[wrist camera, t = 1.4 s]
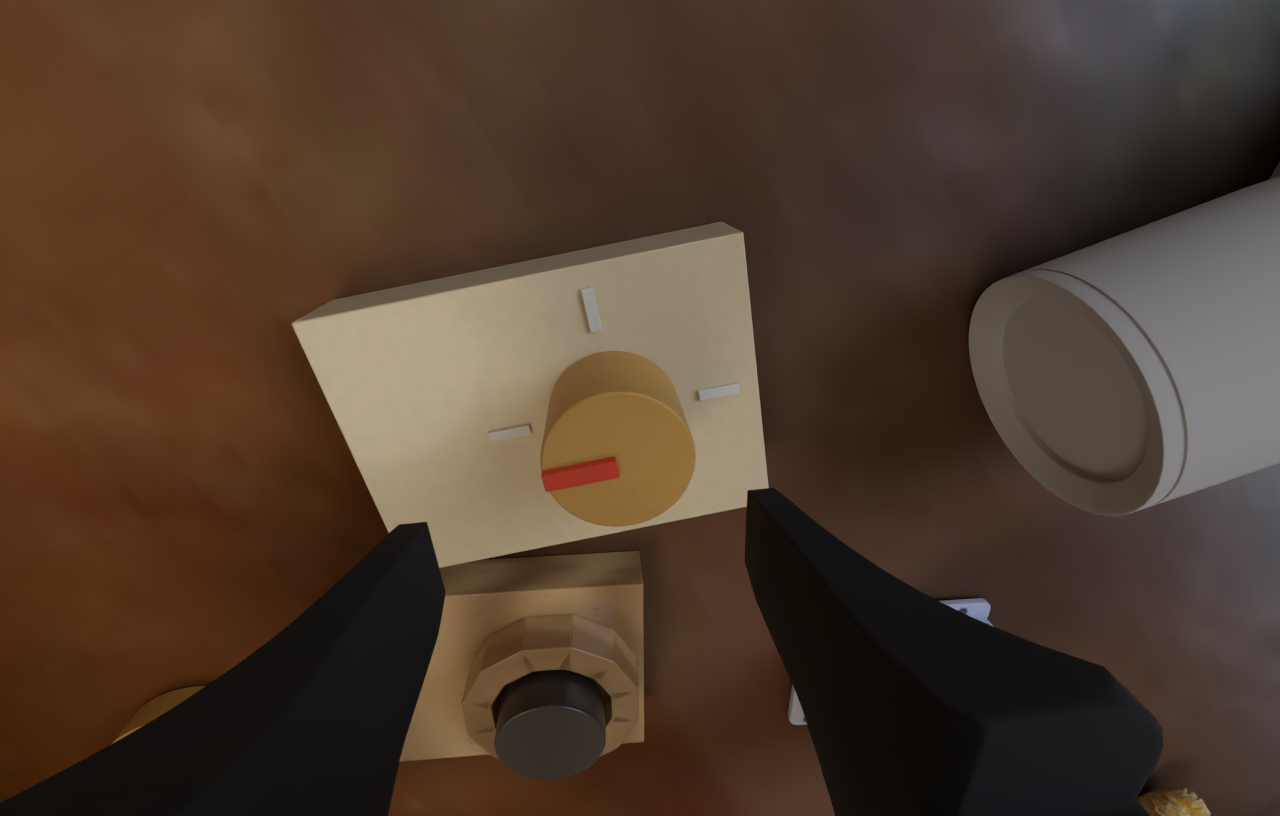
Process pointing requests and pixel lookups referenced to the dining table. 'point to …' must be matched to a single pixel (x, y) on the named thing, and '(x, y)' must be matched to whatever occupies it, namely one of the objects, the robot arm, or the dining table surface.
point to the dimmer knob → (616, 441)
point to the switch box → (531, 645)
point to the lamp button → (551, 725)
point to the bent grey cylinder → (1141, 357)
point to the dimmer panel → (536, 382)
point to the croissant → (1173, 802)
